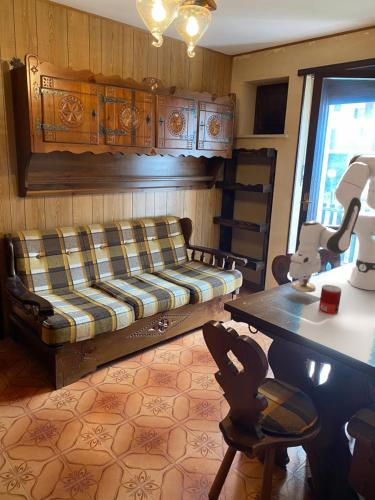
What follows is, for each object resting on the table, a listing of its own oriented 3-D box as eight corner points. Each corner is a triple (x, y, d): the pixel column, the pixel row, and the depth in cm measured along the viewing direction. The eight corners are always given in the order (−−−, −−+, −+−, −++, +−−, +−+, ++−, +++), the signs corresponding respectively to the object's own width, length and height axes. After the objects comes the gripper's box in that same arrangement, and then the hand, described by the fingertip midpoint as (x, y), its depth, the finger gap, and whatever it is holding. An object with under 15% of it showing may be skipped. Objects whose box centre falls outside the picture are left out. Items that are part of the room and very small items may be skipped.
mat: (298, 290, 193) (298, 290, 193) (323, 299, 183) (323, 299, 183) (280, 296, 184) (280, 295, 184) (306, 306, 174) (306, 305, 174)
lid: (300, 282, 191) (301, 273, 189) (320, 289, 183) (321, 280, 181) (286, 286, 184) (287, 278, 183) (306, 294, 176) (307, 284, 175)
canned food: (339, 316, 165) (343, 291, 162) (319, 313, 166) (323, 289, 164) (336, 309, 172) (340, 286, 169) (317, 307, 174) (321, 283, 171)
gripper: (314, 250, 188) (310, 277, 191) (288, 257, 175) (285, 285, 179) (325, 253, 183) (322, 281, 187) (300, 260, 170) (296, 289, 174)
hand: (303, 283), depth 183 cm, fingers closed on lid, 3 cm apart
